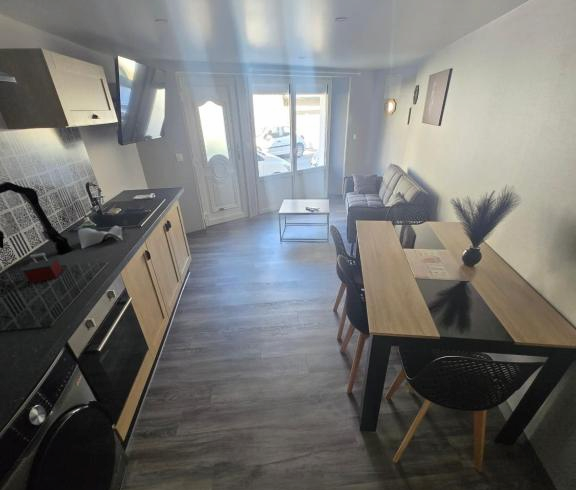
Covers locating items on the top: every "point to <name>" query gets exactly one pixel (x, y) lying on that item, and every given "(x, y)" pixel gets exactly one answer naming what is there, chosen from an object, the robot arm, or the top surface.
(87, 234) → the grey crumpled fabric piece
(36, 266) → the lid
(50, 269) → the red box
